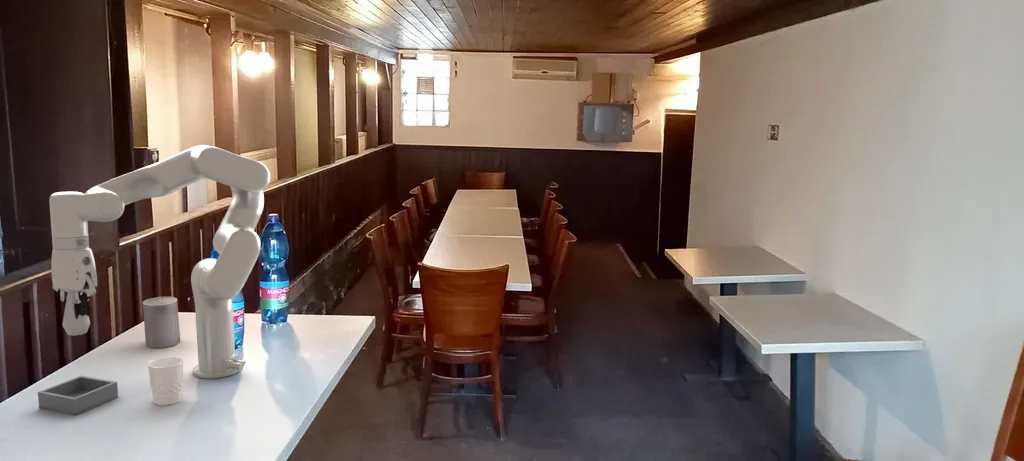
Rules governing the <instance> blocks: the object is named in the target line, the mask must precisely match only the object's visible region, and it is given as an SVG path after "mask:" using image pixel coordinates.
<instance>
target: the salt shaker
mask: <svg viewBox="0 0 1024 461" xmlns="http://www.w3.org/2000/svg"><path fill="white" fill-rule="evenodd" d="M64 291H65V292H67V299H66V306H65V312H64V315H63V318H62V319H63V320H62V328H63V329H64V331H65V333H66V334H67V336H72V337H73V336H74V337H75V336H81V335H84V334H87V333H88V330H89V328H90V325H91V321H90V316H89V315H88V317H87V315H84V316H81V315H80V314H79V316H78V319H76V317H75V311H74V304H75V303H76V300H75V293H74V291H72V290H69V289H67V288H64ZM82 293H83V292H81V293H80V296H81V295H82Z"/></svg>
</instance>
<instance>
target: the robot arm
mask: <svg viewBox="0 0 1024 461" xmlns="http://www.w3.org/2000/svg"><path fill="white" fill-rule="evenodd" d="M204 179H208V180H211V181H214V182H217V183H220V184H223V185H226V186H228V187H230V189H231V196H232V197H231V202H230V205H229V206H228V209H227V211H226V213H225V215H224V217H223V218H222V220H221V222H220V225H219V226H218V228H217V230H216V232H215V234H214V236H213V239H212V246H213V249H214V250H215V252H217V253H218V254H219V256H218V258H213V257H212V258H210V257H209V258H204V259H202V260H200V261H199V262H197V263H196V264H195V265H194V267H193V269H192V271H191V275H190V276H191V277H190V282H191V289H192V293H193V294H192V295H193V300H194V306H195V307H194V310H195V311H194V312H195V327H196V343H197V344H196V345H197V346H196V347H197V359H198V363H197V364H196V365H195V366H193V368H192V375H193V376H195V377H197V378H199V379H200V378H201V379H221V378H225V377H230V376H233V375H235V374H238V373H239V372H240V371H243V369H244V368H245V365H246V361H245V360H243V359H239V354H238V353H236V350H235V348H236V347H235V328H234V327H235V326H234V306H233V300H232V299H234V298H235V297H237V296H238V294H240V292H241V291H242V289H243V287H244V286H245V283H246V282H247V280H248V278H249V276H250V274H251V272H252V271H253V268H254V266H255V264H256V262H257V260H258V257H259V256H260V253H261V246H262V244H261V243H262V242H261V239H260V237H259V235H258V234H257V232H255V230H256V228H257V225H258V223H259V221H260V218H261V215H262V214H263V210H264V204H265V196H264V191H263V190H265V189H267V187H268V185H269V184H270V181H271V173H270V171H269V169H268V167H267V166H266V165H265V164H264V163H262V162H261V161H259V160H255V159H253V158H249V157H246V156H243V155H240V154H236V153H233V152H231V151H228V150H225V149H223V148H219V147H216V146H212V145H205V144H200V145H196V146H193V147H190V148H188V149H186V150H185V149H184V150H182V151H181V152H179V153H175V154H174V155H171V156H170V157H167V158H165V159H162V160H160V161H158V162H155V163H153V164H150V165H146V166H144V167H141V168H138V169H136V170H133V171H131V172H127V173H125V174H122V175H119V176H117V177H114V178H111V179H109V180H107V181H105V182H102V183H99V184H97V185H95V186H93V187H91V188H89V189H88V190H86V191H85V193H83V192H81V191H80V192H79V191H72V190H71V191H58V192H53V193H52V194H51V195H50V196H49V211H50V212H49V214H50V215H49V216H50V229H51V239H52V241H51V242H52V253H51V267H50V268H51V271H50V272H51V281H52V289H53V290H54V291H56V292H57V294H58V295H59V296H60V298H59V299H60V301H61V302H62V312H63V316H64V312H65V306H66V299H67V292H65V291H64V288H67V289H69V290H72V291H74V293H75V300H76V303H75V304H74V311H75V317H76V319H78V316H79V314H80V315H81V316H84V315H87V317H88V316H89V309H88V307H89V306H88V302H89V301H90V297H92V296H93V295H95V294H97V289H96V288H97V287H98V274H97V267H96V262H95V256H94V254H93V249H92V248H90V241H89V224H88V221H89V222H105V223H106V222H112V221H115V220H118V219H119V218H120V217H121V216H122V215H123V214H124V211H125V206H127V205H130V204H131V203H135V202H138V201H141V200H146V199H151V198H161V197H165V196H168V195H171V194H173V193H174V194H175V192H177V191H179V190H182V189H183V188H187V187H188V186H190V185H193V184H195V183H198V182H200V181H203V180H204ZM81 292H82V295H81V296H80V293H81Z"/></svg>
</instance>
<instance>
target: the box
mask: <svg viewBox="0 0 1024 461" xmlns="http://www.w3.org/2000/svg"><path fill="white" fill-rule="evenodd" d="M118 390H119V389H118V381H113V380H108V379H102V378H96V377H91V376H85V375H79V376H76V377H74V378H71V379H69V380H66V381H64V382H61V383H58V384H55V385H54V386H51V387H48V388H45V389H42V390H39V391H38V392H37V398H38V408H39V409H43V410H48V411H53V412H58V413H62V414H63V413H64V414H66V415H67V414H68V415H72V416H78V415H81V414H83V413H85V412H88V411H90V410H92V409H94V408H96V407H99V406H101V405H104V404H105V403H108V402H110V401H113V400H115V399H117V398H119V391H118Z"/></svg>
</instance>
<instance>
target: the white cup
mask: <svg viewBox="0 0 1024 461" xmlns="http://www.w3.org/2000/svg"><path fill="white" fill-rule="evenodd" d="M147 368H148V369H147V370H148V376H149V383H150V391H151V395H152V402H153V404H154V405H157V406H170V405H173V404H177V403H179V402H181V401H183V398H184V397H183V396H184V393H183V389H184V360H183V358H181V357H178V356H165V357H160V358H156V359H153V360H150V361H149V362H148V364H147Z"/></svg>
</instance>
